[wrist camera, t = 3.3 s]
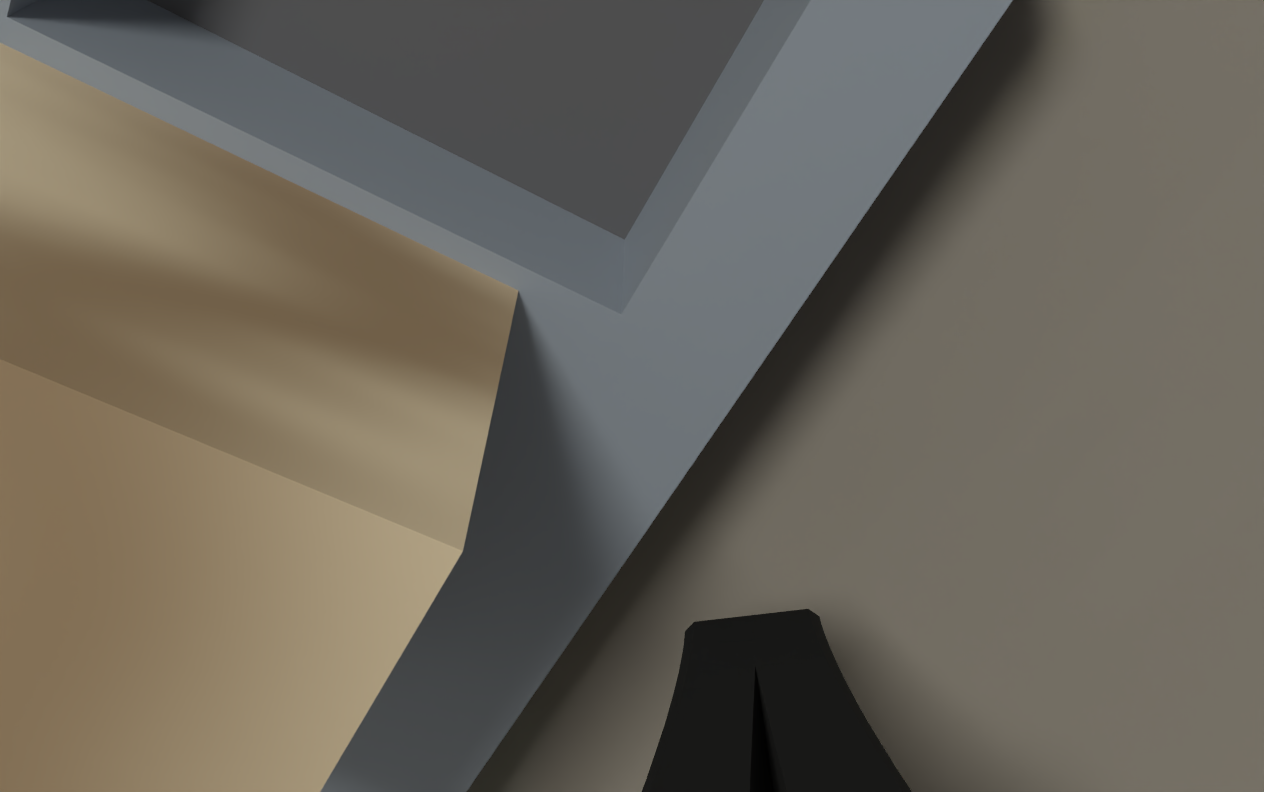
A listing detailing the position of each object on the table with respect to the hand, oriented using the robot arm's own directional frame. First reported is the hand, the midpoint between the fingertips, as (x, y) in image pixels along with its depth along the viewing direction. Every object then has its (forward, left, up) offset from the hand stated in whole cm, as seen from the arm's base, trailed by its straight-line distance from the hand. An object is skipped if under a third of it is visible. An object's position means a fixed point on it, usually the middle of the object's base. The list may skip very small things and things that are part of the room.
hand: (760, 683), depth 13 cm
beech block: (+7, 0, -1) cm, 7 cm away
